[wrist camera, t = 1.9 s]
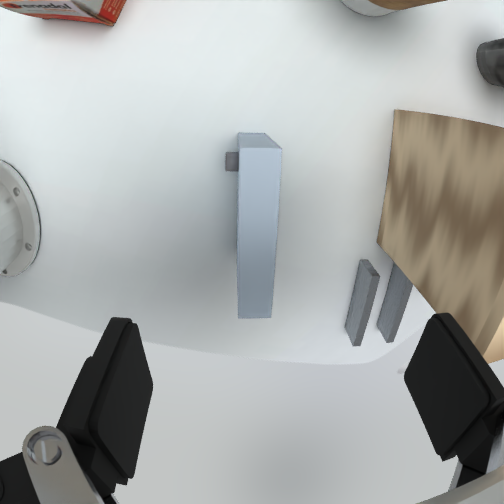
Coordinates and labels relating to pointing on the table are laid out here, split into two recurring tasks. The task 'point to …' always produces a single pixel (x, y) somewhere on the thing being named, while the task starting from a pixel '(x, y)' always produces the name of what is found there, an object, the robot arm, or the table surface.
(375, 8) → the coffee cup
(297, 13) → the table surface
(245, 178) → the door panel
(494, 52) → the beverage cup
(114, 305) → the table surface
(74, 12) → the medicine box
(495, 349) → the cabinet
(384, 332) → the hinge clips
